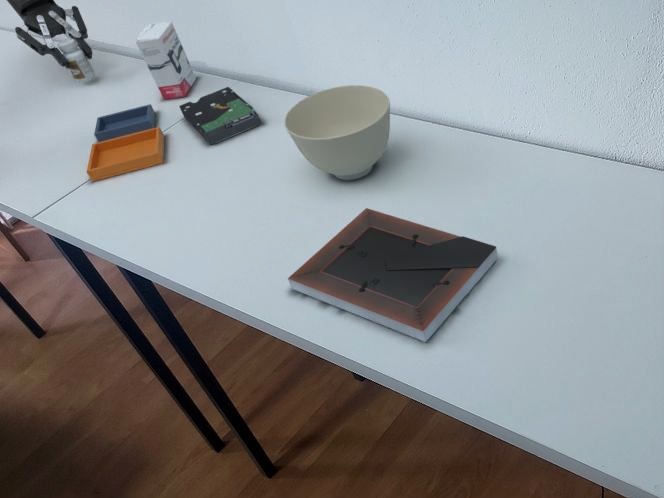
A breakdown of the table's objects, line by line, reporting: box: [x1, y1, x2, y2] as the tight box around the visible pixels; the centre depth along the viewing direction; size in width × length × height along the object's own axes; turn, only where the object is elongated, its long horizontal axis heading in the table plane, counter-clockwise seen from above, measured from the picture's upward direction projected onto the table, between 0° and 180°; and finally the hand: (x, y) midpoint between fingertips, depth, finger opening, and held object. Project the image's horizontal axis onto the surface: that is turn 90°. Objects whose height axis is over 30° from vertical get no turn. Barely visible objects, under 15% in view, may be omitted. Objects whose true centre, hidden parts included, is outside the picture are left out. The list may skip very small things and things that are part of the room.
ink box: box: [135, 21, 197, 100], centre depth 128 cm, size 8×5×12 cm, turn 1°
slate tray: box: [93, 103, 156, 143], centre depth 122 cm, size 10×7×2 cm
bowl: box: [283, 84, 391, 181], centre depth 99 cm, size 16×16×10 cm
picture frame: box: [287, 207, 498, 343], centre depth 82 cm, size 16×2×22 cm
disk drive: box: [179, 86, 262, 145], centre depth 119 cm, size 10×3×15 cm
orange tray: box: [86, 126, 165, 182], centre depth 114 cm, size 12×10×2 cm
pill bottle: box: [57, 38, 97, 83], centre depth 137 cm, size 4×4×8 cm
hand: (79, 61), depth 136 cm, fingers closed on pill bottle, 4 cm apart
